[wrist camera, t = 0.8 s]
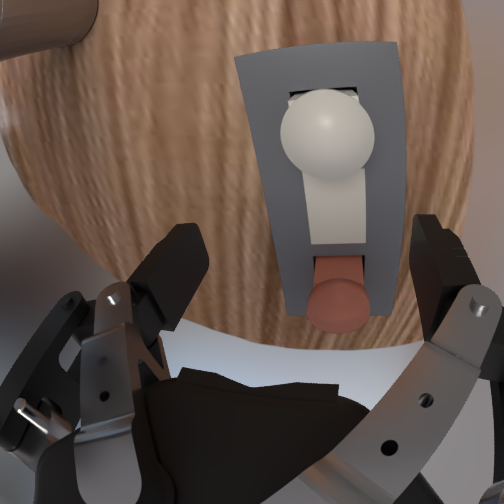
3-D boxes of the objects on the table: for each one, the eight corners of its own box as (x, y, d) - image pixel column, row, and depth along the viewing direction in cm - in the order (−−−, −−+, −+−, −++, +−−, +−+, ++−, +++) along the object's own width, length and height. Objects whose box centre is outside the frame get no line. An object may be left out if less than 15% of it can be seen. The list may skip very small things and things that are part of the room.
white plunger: (288, 86, 21) (272, 95, 15) (356, 80, 19) (369, 88, 13) (299, 148, 24) (288, 182, 18) (363, 144, 22) (376, 178, 16)
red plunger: (311, 238, 29) (303, 290, 23) (366, 237, 27) (372, 290, 22) (315, 280, 32) (308, 333, 27) (364, 279, 31) (367, 333, 25)
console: (255, 57, 23) (233, 57, 18) (380, 46, 20) (397, 41, 14) (295, 275, 39) (287, 316, 33) (385, 274, 35) (391, 316, 29)
